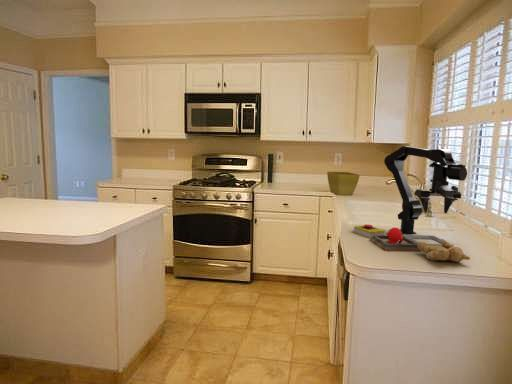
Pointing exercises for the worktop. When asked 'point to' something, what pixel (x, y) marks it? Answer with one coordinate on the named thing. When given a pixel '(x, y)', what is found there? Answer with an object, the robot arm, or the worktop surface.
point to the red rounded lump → (395, 235)
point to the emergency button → (368, 230)
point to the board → (385, 244)
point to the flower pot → (342, 182)
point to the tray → (425, 238)
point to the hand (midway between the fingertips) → (435, 213)
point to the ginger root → (442, 252)
